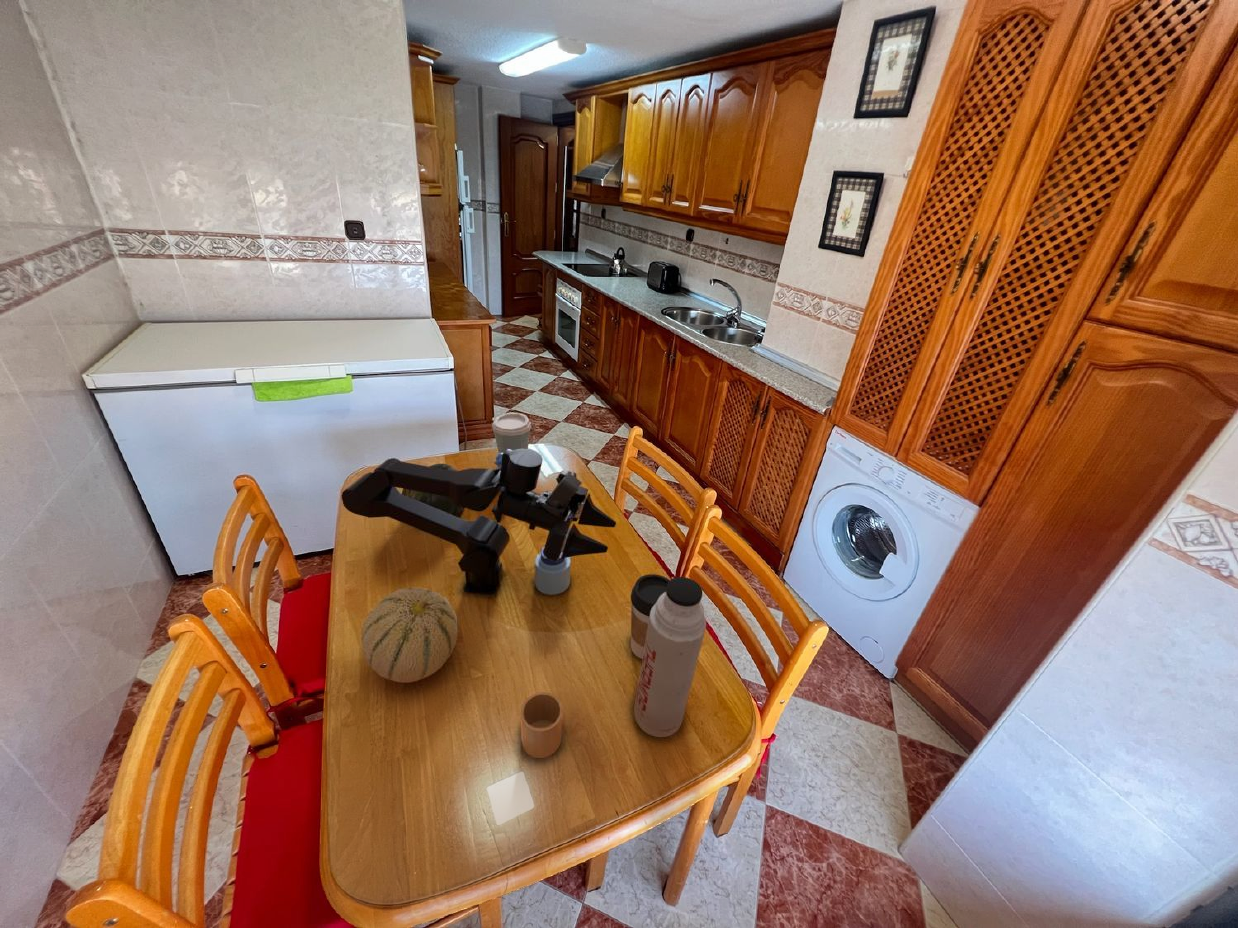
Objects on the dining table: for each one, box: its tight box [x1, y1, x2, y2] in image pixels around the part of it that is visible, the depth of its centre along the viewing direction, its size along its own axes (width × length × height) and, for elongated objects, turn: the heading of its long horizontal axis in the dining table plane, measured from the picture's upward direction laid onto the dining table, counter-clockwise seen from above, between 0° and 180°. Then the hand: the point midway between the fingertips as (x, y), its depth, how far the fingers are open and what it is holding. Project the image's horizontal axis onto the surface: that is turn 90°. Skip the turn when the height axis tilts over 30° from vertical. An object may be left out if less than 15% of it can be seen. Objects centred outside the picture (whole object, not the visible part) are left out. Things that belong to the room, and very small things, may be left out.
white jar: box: [534, 545, 572, 596], centre depth 102 cm, size 7×7×8 cm
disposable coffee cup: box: [491, 411, 532, 454], centre depth 138 cm, size 11×11×15 cm
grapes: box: [494, 452, 505, 493], centre depth 128 cm, size 12×7×12 cm, turn 23°
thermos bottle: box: [633, 576, 707, 738], centre depth 74 cm, size 8×8×28 cm
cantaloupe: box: [360, 586, 459, 683], centre depth 81 cm, size 15×15×15 cm
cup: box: [520, 691, 564, 759], centre depth 74 cm, size 6×6×7 cm
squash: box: [401, 463, 466, 518], centre depth 117 cm, size 14×15×15 cm
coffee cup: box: [630, 573, 671, 660], centre depth 88 cm, size 8×8×15 cm
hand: (611, 536), depth 90 cm, fingers open, 9 cm apart
